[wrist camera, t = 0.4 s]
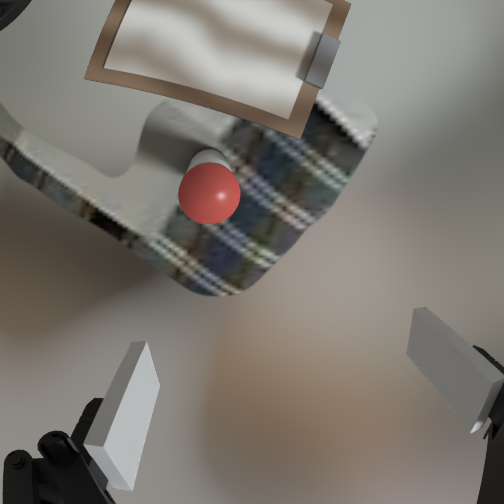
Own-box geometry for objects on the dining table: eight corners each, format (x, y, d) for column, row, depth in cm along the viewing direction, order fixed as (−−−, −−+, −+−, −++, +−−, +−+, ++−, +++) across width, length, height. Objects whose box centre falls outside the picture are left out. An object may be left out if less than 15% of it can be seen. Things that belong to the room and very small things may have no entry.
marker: (195, 142, 31) (188, 156, 20) (233, 153, 32) (248, 175, 21) (184, 178, 33) (171, 214, 21) (221, 189, 34) (228, 230, 22)
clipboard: (149, -52, 20) (146, -62, 18) (345, 7, 26) (355, 1, 24) (88, 80, 26) (79, 77, 24) (296, 138, 33) (303, 140, 30)
